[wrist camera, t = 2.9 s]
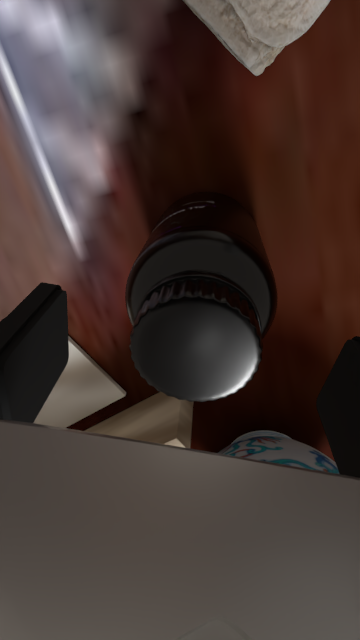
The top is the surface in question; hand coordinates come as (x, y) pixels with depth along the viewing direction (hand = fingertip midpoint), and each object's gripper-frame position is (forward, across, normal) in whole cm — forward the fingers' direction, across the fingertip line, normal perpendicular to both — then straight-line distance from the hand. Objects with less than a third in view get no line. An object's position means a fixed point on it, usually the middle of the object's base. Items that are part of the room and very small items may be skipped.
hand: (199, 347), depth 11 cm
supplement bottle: (+12, 0, +1) cm, 13 cm away
